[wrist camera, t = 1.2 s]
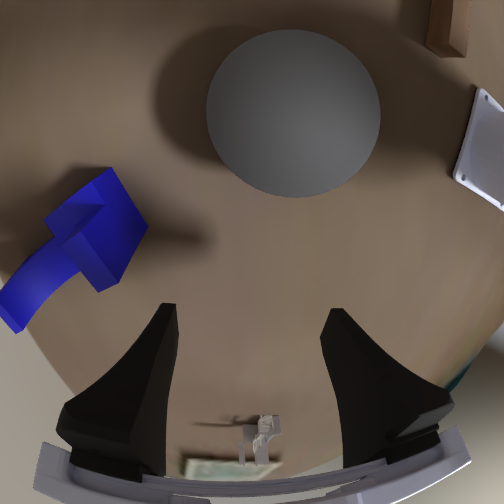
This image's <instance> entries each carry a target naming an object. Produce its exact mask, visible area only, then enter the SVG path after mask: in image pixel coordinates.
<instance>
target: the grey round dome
mask: <svg viewBox="0 0 504 504" xmlns="http://www.w3.org/2000/svg"><path fill="white" fill-rule="evenodd" d="M206 120H207V128H208V131H209V135H210V138H211V141H212V143H213V145H214V148H215V150H216V151H217V153H218V155H219V156H220V158H221V159H222V161H223V162H224V163H225V165H226V166H227V167H228V168H229V169H230V170H231V171H232V172H233V173H234V174H235V175H236V176H237V177H239V178H240V179H241V180H243V181H244V182H245V183H247V184H249V185H251V186H252V187H254V188H256V189H258V190H261V191H263V192H266V193H269V194H273V195H276V196H283V197H295V198H299V197H309V196H314V195H319V194H322V193H325V192H328V191H330V190H332V189H335V188H337V187H339V186H340V185H342V184H343V183H345V182H346V181H348V180H349V179H350V178H351V177H353V176H354V175H355V174H356V173H357V172H358V171H359V170H360V169H361V168H362V166H363V165H364V164H365V162H366V161H367V160H368V158H369V156H370V154H371V153H372V151H373V149H374V146H375V144H376V141H377V138H378V134H379V129H380V121H381V114H380V103H379V97H378V94H377V90H376V87H375V85H374V82H373V80H372V78H371V76H370V75H369V73H368V71H367V69H366V68H365V67H364V65H363V64H362V63H361V62H360V60H359V59H358V58H357V57H356V56H355V55H354V54H353V53H352V52H351V51H349V50H348V49H347V48H346V47H344V46H343V45H341V44H340V43H338V42H336V41H335V40H333V39H331V38H329V37H326V36H324V35H321V34H318V33H315V32H311V31H305V30H299V29H284V30H275V31H271V32H267V33H263V34H260V35H258V36H256V37H253V38H251V39H249V40H247V41H246V42H244V43H242V44H241V45H239V46H238V47H237V48H236V49H234V50H233V51H232V52H231V53H230V54H229V55H228V56H227V57H226V58H225V59H224V61H223V62H222V63H221V65H220V66H219V68H218V69H217V71H216V73H215V75H214V77H213V79H212V81H211V84H210V87H209V90H208V95H207V101H206Z"/></svg>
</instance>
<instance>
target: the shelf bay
mask: <svg viewBox="0 0 504 504" xmlns="http://www.w3.org/2000/svg"><path fill="white" fill-rule="evenodd" d="M470 13H471V0H432V3H431V11H430V18H429V24H428V30H427V36H426V41H425V46H426V47H427V48H429V49H430V50H432V51H433V52H435V53H436V54H437V55H439V56H440V57H442V58H443V57H462V58H466V52H467V45H468V37H469V27H470Z"/></svg>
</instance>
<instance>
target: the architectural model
mask: <svg viewBox="0 0 504 504" xmlns="http://www.w3.org/2000/svg"><path fill="white" fill-rule="evenodd" d="M260 416H261V418H260V419H259V421H258V425H249V424H242V427H243V442H238V446H239V464H240V465H243V466H244V465H245V454H244V443H253V451H254V454H255V465H256V466H257V465H265V464H269V458H268V450H267V443H268V442H269V441H270V440H271V439H272V437H273V436H275V435H280V434H282V432H281V425H280V418H279V415H277V416H272V415H265V416H264V417H262V416H263V415H260Z"/></svg>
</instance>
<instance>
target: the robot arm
mask: <svg viewBox="0 0 504 504" xmlns="http://www.w3.org/2000/svg"><path fill="white" fill-rule="evenodd" d="M461 177H462V178H461ZM453 178H454V180H456V181H457V182H459V183H461V184H462V185H464V186H466V187H467V188H469V189H470V190H472V191H474V192H475V193H477V194H478V195H480V196H481V197H483V198H484V199H486V200H487V201H489V202H490V203H492V204H493V205H495V206H496V207H498V208H499V209H500V210H502V211H503V212H504V109H503V108H502V107H501V106H500V105H499V104H498V103H497V102H496V101H495V100H494V99H493V98H492V97H491V96H490V95H489V94H488V93H487V92H486V91H485V90H484V89H483V88H477V90H476V95H475V99H474V104H473V108H472V112H471V116H470V120H469V124H468V127H467V131H466V135H465V138H464V141H463V145H462V148H461V151H460V154H459V157H458V160H457V163H456V166H455V169H454V171H453ZM178 338H179V331H178V322H177V311H176V304H172V303H162V304H160V306H159V308H158V310H157V311H156V313H155V314H154V316H153V318H152V319H151V321H150V322H149V324H148V325H147V326H146V328H145V329H144V331H143V332H142V333H141V335H140V336H139V338H138V339H137V340H136V341H135V343H134V344H133V345H132V346H131V348H130V349H129V350H128V351H127V352H126V353H125V355H124V356H123V357H122V358H121V359H120V360H119V361H118V362H117V363H116V364H115V365H114V366H113V367H112V368H111V369H110V370H109V371H108V372H107V373H106V374H105V375H103V376H102V377H101V378H100V379H99V380H97V381H96V382H95V383H94V384H92V385H91V386H90V387H88V388H87V389H86V390H84V391H83V392H82V393H80V394H78V395H77V396H75V397H74V398H72V399H71V400H69V401H67V402H66V403H65V404H64V407H63V408H62V411H61V413H60V416H59V419H58V423H57V426H56V432H57V434H58V435H59V436H60V437H61V438H62V439H63V440H65V441H66V442H67V443H68V444H69V445H71V446H72V452H71V453H70V452H69V451H67V450H64V449H62V448H59V447H56V446H54V445H51V444H49V443H46V442H43V443H42V446H41V450H40V454H39V459H38V463H37V468H36V473H35V478H34V484H33V488H34V489H35V490H37V491H38V492H40V493H43V494H45V495H47V496H49V497H51V498H54V499H56V500H58V501H60V502H63V503H65V504H211V503H210V500H208V499H202V498H194V497H187V496H178V495H188V496H201V497H255V496H271V495H280V494H290V493H297V492H304V491H310V490H316V489H321V488H326V487H331V486H335V485H340V484H344V483H348V482H352V481H356V480H359V479H360V480H359V481H356V482H353V483H350V484H346V485H343V486H341V487H340V488H338V489H336V490H334V491H332V492H329V493H326V496H323V497H319V498H312V499H306V500H300V501H294V502H285V503H277V504H394V503H397V502H399V501H401V500H403V499H405V498H408V497H410V496H412V495H414V494H416V493H418V492H420V491H422V490H424V489H426V488H428V487H430V486H431V485H433V484H435V483H437V482H439V481H440V480H442V479H444V478H446V477H447V476H449V475H451V474H452V473H454V472H456V471H457V470H459V469H460V468H462V467H463V466H465V465H467V464H468V463H470V462H471V457H470V455H469V452H468V450H467V447H466V444H465V442H464V440H463V437H462V435H461V432H460V430H459V428H458V426H457V425H456V426H454V427H452V428H450V429H448V430H445V431H444V432H442V433H440V434H438V433H437V431H436V430H438V429H439V425H438V422H439V421H440V420H441V419H442V418H444V417H445V416H446V415H447V414H448V413H449V412H450V411H451V410H452V409H453V408H454V405H455V404H454V401H453V399H452V398H451V395H450V393H449V391H448V390H445V389H443V388H441V387H438V386H436V385H434V384H432V383H430V382H428V381H426V380H424V379H422V378H421V377H419V376H417V375H416V374H414V373H413V372H411V371H410V370H408V369H407V368H405V367H404V366H402V365H401V364H400V363H398V362H397V361H396V360H395V359H393V358H392V357H391V356H390V355H388V354H387V353H386V352H385V351H384V350H383V349H382V348H381V347H380V346H379V345H377V344H376V343H375V342H374V341H373V340H372V339H371V338H370V337H369V336H368V335H367V334H366V332H365V331H364V330H363V329H362V328H361V327H360V326H359V325H358V324H357V323H356V322H355V321H354V320H353V319H352V318H351V316H350V315H349V314H348V313H347V312H346V311H345V310H344V309H343V308H331V310H330V313H329V315H328V318H327V321H326V323H325V326H324V328H323V331H322V333H321V336H320V340H321V346H322V352H323V356H324V360H325V363H326V366H327V369H328V372H329V375H330V379H331V382H332V385H333V388H334V391H335V395H336V399H337V404H338V410H339V416H340V423H341V431H342V443H343V469H341V470H337V471H332V472H327V473H321V474H315V475H309V476H302V477H295V478H287V479H277V480H264V481H241V482H220V481H197V480H184V479H174V478H166V477H164V476H165V475H166V421H167V405H168V396H169V391H170V385H171V380H172V375H173V371H174V366H175V361H176V356H177V348H178ZM173 494H177V495H173Z"/></svg>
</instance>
